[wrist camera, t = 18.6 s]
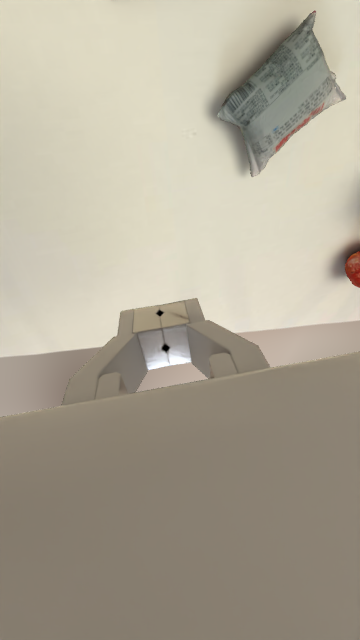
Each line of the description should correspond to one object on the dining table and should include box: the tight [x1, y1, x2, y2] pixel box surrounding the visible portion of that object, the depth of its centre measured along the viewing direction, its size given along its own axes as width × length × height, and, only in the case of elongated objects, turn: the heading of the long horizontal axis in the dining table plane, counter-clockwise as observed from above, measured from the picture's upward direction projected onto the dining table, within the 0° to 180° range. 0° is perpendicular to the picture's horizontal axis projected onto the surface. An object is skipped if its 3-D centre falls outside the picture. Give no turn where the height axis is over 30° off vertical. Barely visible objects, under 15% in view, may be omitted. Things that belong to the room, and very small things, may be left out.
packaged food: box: [218, 11, 346, 177], centre depth 28 cm, size 9×12×5 cm
